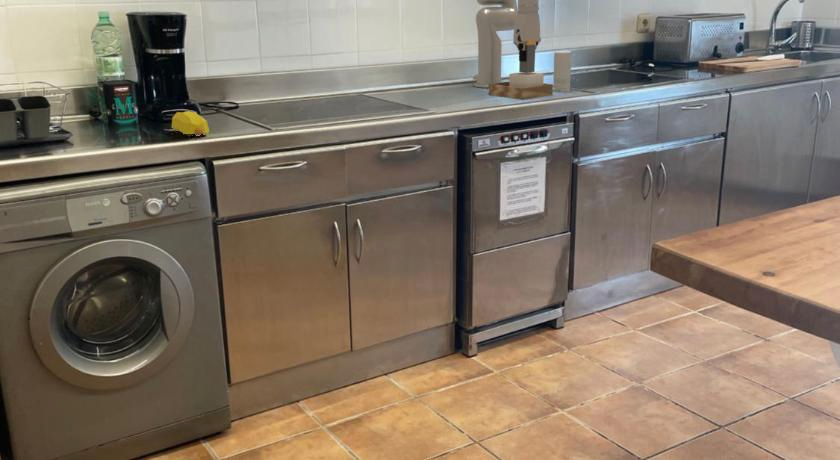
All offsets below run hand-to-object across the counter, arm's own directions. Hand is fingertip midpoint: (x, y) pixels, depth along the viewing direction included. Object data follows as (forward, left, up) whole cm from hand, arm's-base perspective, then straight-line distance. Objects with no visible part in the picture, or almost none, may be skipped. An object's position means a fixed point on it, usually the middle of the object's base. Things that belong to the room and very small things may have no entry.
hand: (526, 60), depth 306 cm
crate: (-2, -1, -14) cm, 14 cm away
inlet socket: (0, 0, -13) cm, 13 cm away
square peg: (0, 0, -4) cm, 4 cm away
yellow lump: (-20, -126, -14) cm, 128 cm away
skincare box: (+1, +19, -14) cm, 24 cm away
